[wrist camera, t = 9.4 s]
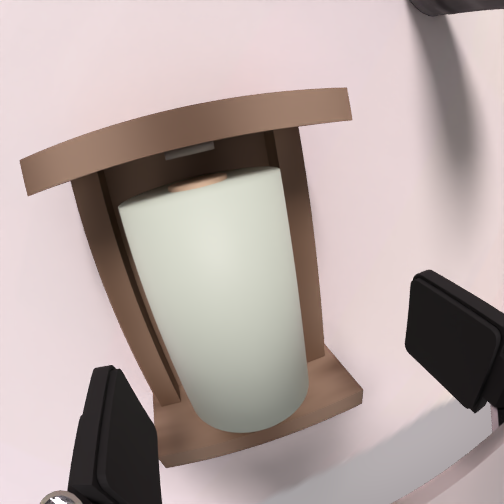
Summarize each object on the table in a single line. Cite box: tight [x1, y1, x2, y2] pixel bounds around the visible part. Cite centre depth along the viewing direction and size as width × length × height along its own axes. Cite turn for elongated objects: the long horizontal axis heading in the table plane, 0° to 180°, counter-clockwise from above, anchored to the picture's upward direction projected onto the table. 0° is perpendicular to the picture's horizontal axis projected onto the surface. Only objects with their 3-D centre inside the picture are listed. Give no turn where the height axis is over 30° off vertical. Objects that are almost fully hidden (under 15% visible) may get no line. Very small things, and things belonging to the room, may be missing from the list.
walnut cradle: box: [20, 88, 363, 468], centre depth 14 cm, size 11×15×6 cm
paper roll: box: [118, 166, 309, 433], centre depth 13 cm, size 10×6×6 cm, turn 12°
